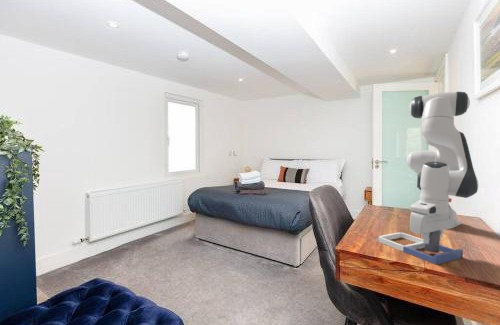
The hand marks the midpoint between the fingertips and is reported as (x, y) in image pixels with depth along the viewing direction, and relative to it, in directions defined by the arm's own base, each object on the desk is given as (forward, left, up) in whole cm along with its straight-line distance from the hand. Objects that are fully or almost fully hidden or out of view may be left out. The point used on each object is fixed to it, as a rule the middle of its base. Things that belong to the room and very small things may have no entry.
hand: (431, 242), depth 95 cm
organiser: (0, -6, -5) cm, 7 cm away
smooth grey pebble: (0, 0, -3) cm, 3 cm away
